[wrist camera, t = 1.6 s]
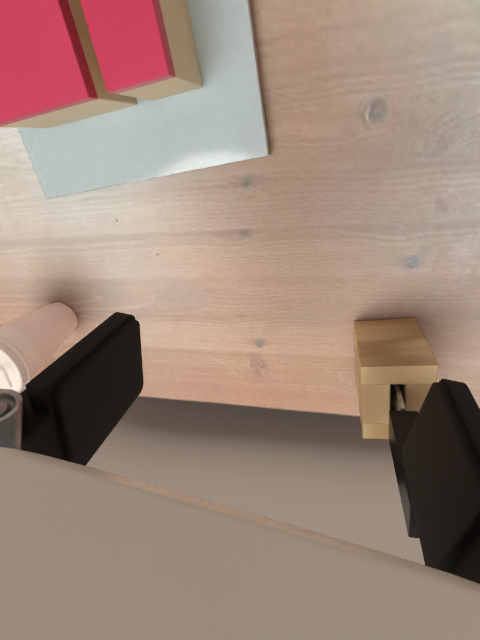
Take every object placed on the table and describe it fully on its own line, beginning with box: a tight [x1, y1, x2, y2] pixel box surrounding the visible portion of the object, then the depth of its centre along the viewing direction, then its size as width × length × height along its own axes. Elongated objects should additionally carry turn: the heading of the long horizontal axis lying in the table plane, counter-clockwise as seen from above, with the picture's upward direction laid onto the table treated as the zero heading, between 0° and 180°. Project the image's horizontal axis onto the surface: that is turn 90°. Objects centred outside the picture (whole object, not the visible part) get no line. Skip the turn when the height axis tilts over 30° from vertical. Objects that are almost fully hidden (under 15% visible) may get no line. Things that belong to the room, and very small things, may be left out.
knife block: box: [354, 318, 439, 439], centre depth 28 cm, size 5×7×7 cm
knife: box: [389, 384, 419, 538], centre depth 24 cm, size 2×3×16 cm, turn 10°
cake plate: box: [17, 0, 270, 199], centre depth 23 cm, size 20×22×1 cm
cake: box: [0, 0, 137, 128], centre depth 21 cm, size 8×12×6 cm, turn 11°
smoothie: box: [0, 302, 78, 393], centre depth 32 cm, size 6×6×14 cm
